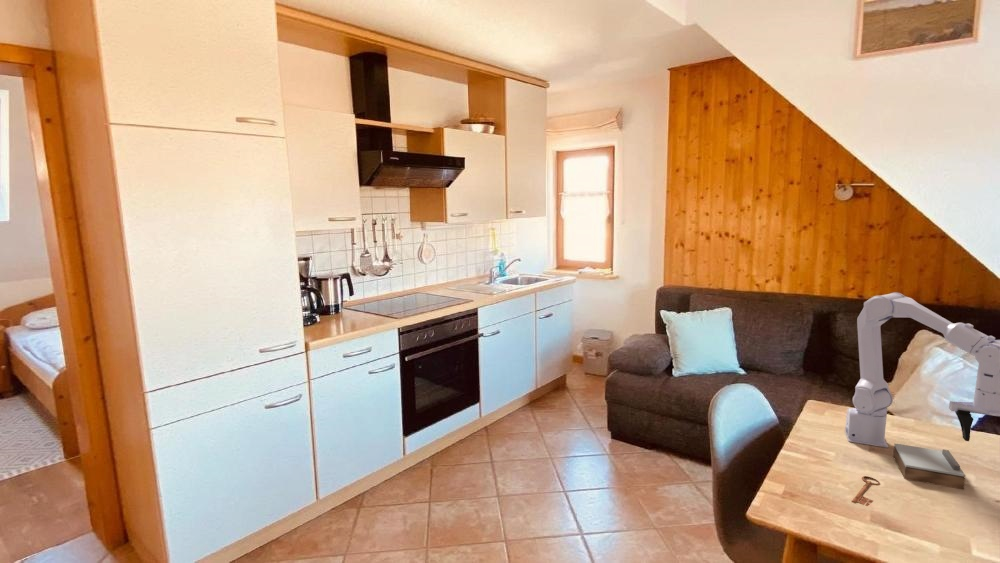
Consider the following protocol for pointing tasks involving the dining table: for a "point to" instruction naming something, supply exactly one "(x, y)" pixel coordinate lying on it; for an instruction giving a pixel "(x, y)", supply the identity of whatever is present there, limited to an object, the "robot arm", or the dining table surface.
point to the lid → (929, 459)
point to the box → (928, 475)
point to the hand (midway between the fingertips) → (984, 442)
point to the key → (865, 487)
